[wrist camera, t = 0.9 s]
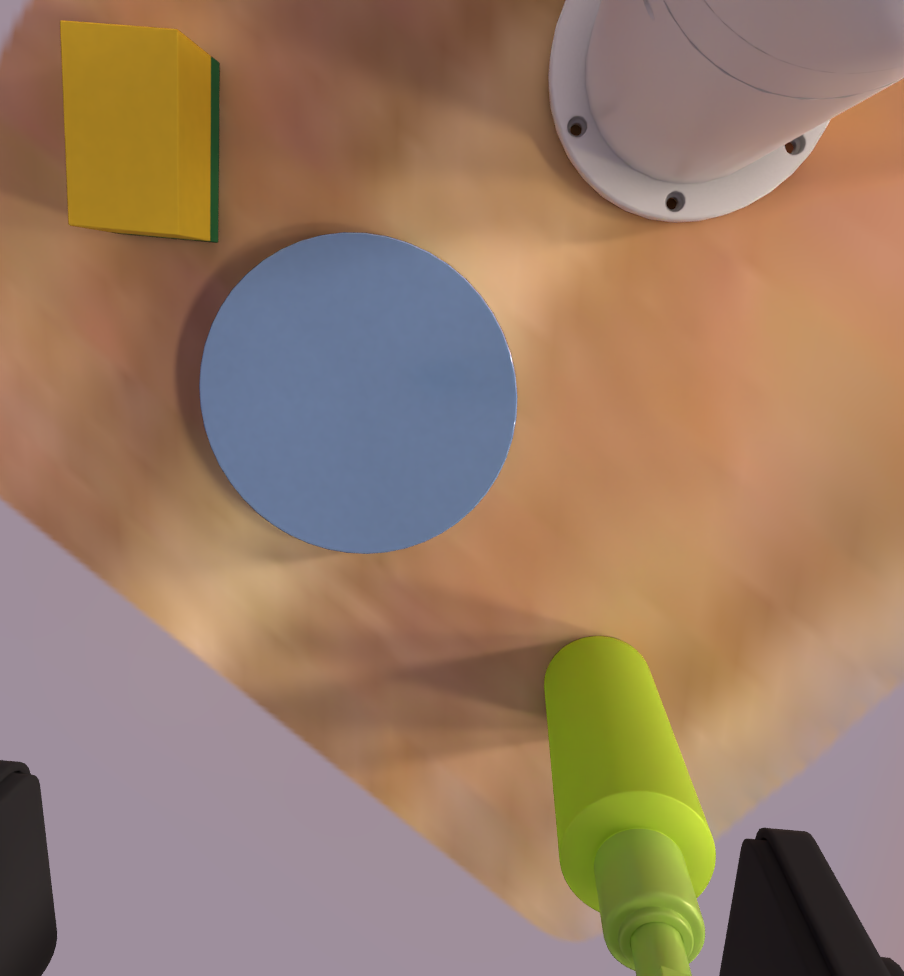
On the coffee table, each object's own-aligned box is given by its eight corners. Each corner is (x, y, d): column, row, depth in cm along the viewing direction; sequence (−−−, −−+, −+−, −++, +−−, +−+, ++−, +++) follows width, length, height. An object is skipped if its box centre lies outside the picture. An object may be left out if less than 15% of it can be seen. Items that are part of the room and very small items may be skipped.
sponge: (115, 54, 35) (58, 19, 30) (219, 62, 34) (177, 28, 30) (120, 233, 37) (67, 225, 32) (218, 242, 36) (179, 235, 32)
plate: (208, 220, 36) (198, 217, 35) (534, 249, 35) (535, 247, 34) (207, 529, 40) (198, 536, 39) (499, 562, 39) (499, 570, 38)
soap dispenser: (522, 726, 42) (533, 1095, 22) (567, 620, 40) (621, 924, 21) (619, 760, 42) (714, 1157, 22) (668, 656, 40) (817, 992, 21)
